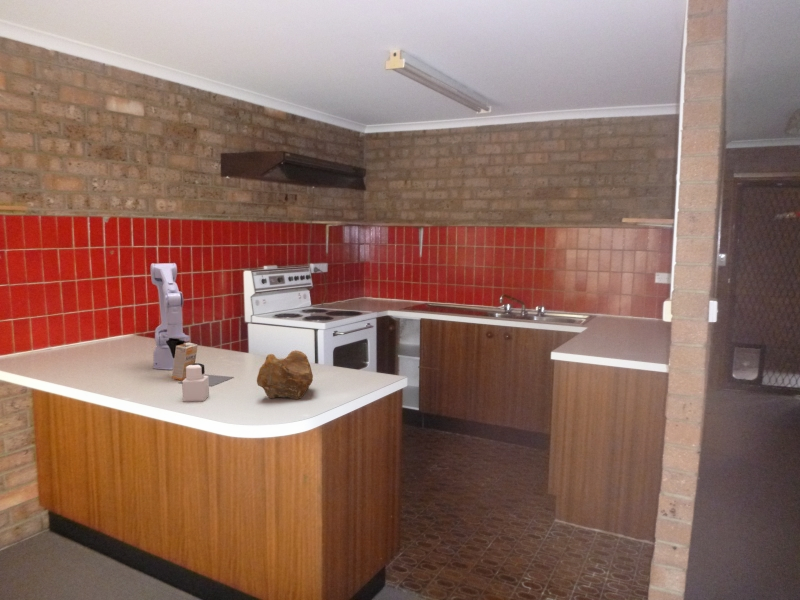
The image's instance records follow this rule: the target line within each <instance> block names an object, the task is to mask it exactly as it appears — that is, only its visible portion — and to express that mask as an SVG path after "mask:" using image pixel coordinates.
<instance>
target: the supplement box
mask: <svg viewBox="0 0 800 600" xmlns="http://www.w3.org/2000/svg"><path fill="white" fill-rule="evenodd" d="M198 346H199V345H198V344H196V343H192V342H189V341H186V342H184V344H181V345H178V346H176V351H175V358H174V365H173V369H172V372H171V373H172V374H171V378H172V379H174V380H179V381H183V380H184V379H186V378H187V377H186V366H187V365H189V364H194V363H196V359H197V352H198Z"/></svg>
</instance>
